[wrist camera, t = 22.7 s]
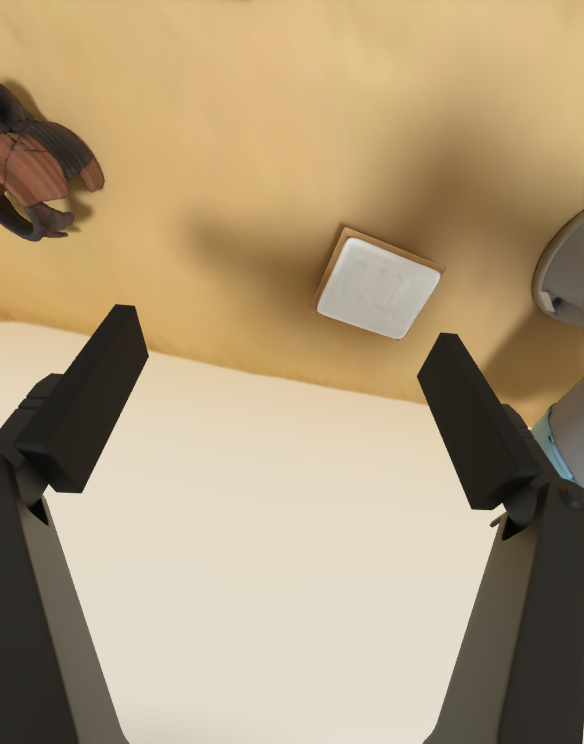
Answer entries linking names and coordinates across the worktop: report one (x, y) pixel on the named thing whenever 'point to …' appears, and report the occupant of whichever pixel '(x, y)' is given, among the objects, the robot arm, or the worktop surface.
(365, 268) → the soap dish
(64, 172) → the pottery mug
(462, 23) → the worktop surface
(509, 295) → the worktop surface
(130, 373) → the robot arm
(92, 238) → the worktop surface
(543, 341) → the worktop surface
